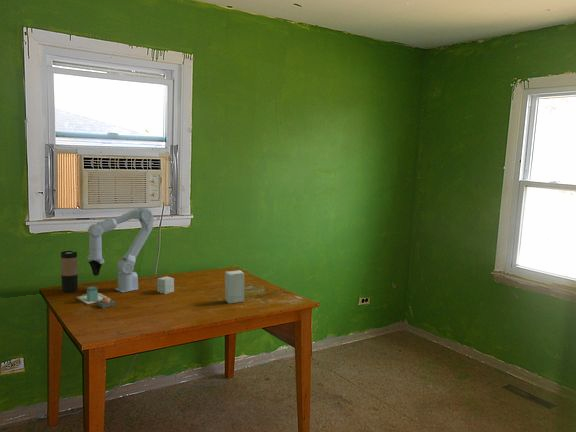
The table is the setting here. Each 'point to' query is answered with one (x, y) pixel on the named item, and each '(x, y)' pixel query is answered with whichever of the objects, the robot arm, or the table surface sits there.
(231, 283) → the skincare box
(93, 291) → the teal banded box
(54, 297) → the table surface
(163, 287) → the skincare box
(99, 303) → the button housing
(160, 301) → the table surface
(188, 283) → the table surface
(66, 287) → the travel mug
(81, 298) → the clipboard with paper sheet
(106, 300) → the button
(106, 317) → the table surface
